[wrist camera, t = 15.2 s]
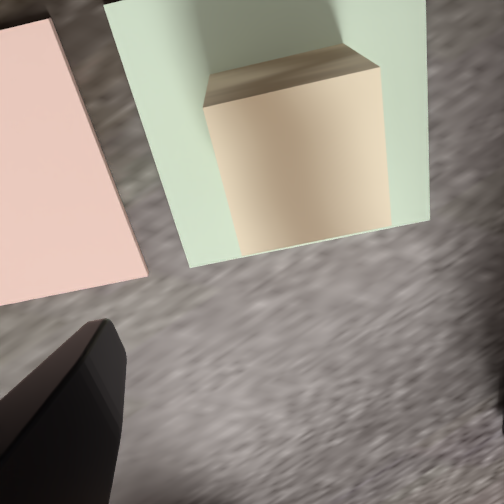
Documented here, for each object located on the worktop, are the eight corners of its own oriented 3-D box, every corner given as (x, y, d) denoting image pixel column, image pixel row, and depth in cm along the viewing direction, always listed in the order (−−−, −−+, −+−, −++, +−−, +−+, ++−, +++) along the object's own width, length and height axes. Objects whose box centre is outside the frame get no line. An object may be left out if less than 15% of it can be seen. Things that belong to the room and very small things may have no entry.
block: (343, 43, 17) (380, 67, 13) (357, 170, 20) (391, 225, 15) (209, 74, 18) (202, 107, 13) (239, 195, 20) (242, 256, 16)
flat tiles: (420, -73, 16) (424, -74, 16) (427, 217, 21) (430, 219, 21) (-231, 86, 18) (-238, 88, 17) (-69, 316, 23) (-72, 319, 23)
